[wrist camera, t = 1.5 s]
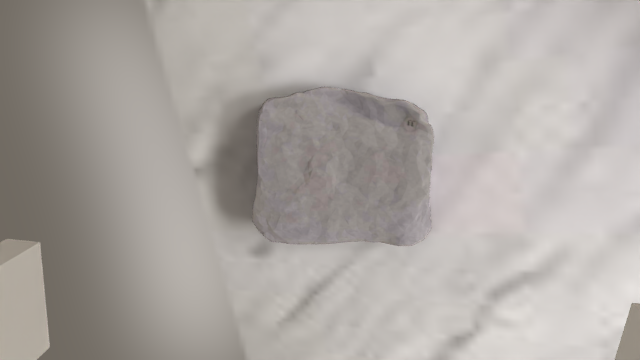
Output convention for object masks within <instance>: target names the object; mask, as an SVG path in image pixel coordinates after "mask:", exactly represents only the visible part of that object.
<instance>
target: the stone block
mask: <svg viewBox="0 0 640 360" xmlns="http://www.w3.org/2000/svg"><path fill="white" fill-rule="evenodd" d="M256 140H257V144H256V147H257V167H258V179H257V185H256V196H255V200H254V204H253V223H254V225H255V226H256V228H257V229H258V230H259V231H260V232H261V234H263V236H264V237H266V238H267V239H268V240H270V241H271V242H281V243H287V244H330V243H340V242H351V241H366V242H383V243H387V244H392V245H397V246H412V245H414V244H416V243H418V242H420V241H422V240H424V239H425V237H426V236H427V235H428V233H429V232H430V230H431V227H432V221H431V219H430V205H429V199H430V197H429V193H430V178H431V170H432V151H433V143H434V134H433V129H432V127H431V125H430V124H429V123H428V117H427V114H426V112H425V111H424V110H421V109H420V108H419V107H417V106H416V105H414V104H412V103H410V102H408V101H405V100H399V99H387V98H382V97H377V96H374V95H371V94H368V93H359V92H355V91H352V90H347V89H338V88H331V87H320V88H316V89H313V90H308V91H305V92H299V93H294V94H292V95H290V96H287V97H277V98H270V99H267V100H266V101H265V102H264V103H263V106H262V107H261V109H260V111H259V114H258V121H257V137H256Z"/></svg>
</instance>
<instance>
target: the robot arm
mask: <svg viewBox="0 0 640 360" xmlns="http://www.w3.org/2000/svg"><path fill="white" fill-rule="evenodd" d="M49 347H50V344H49V333H48V322H47V312H46V301H45V290H44V280H43V268H42V258H41V247H40V242H33V241H24V240H14V239H6V240H4V241H2V242H0V360H37V359H38V358H39V357H40V356H41V355H42V354H43V353H44V352H45V351H46V350H47V349H48V348H49ZM615 360H640V304H637V303H632V304H631V308H630V311H629V314H628V318H627V321H626V324H625V327H624V331H623V334H622V337H621V341H620V344H619V347H618V351H617V354H616V357H615Z"/></svg>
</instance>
